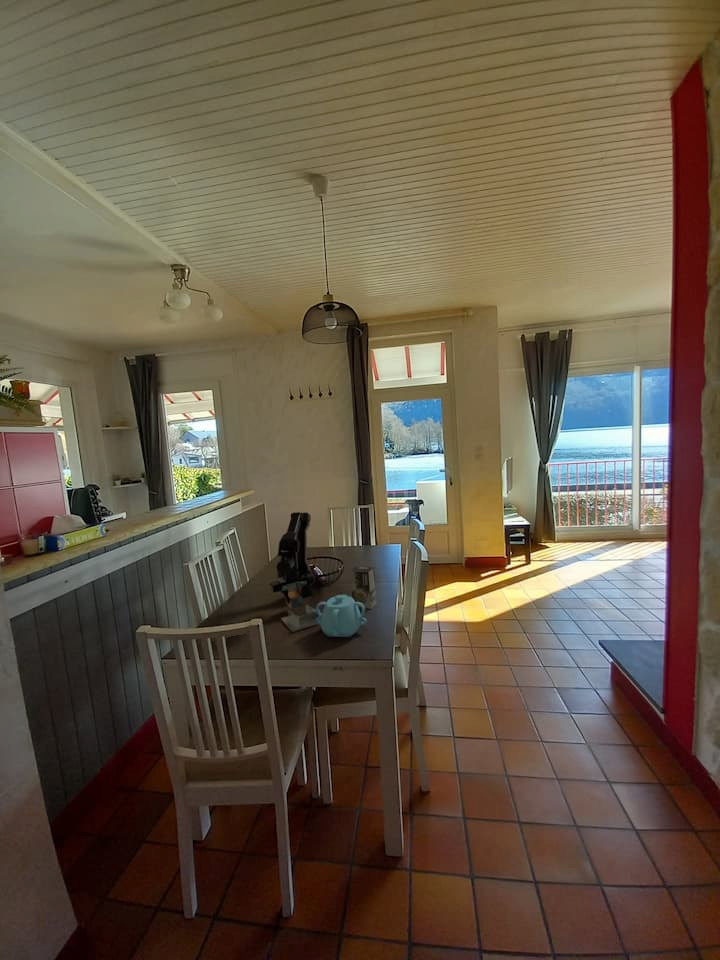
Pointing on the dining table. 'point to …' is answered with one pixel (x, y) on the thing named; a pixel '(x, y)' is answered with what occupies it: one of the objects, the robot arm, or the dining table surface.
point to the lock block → (294, 600)
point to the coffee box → (363, 586)
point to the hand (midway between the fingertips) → (294, 601)
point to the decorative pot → (340, 616)
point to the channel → (301, 619)
